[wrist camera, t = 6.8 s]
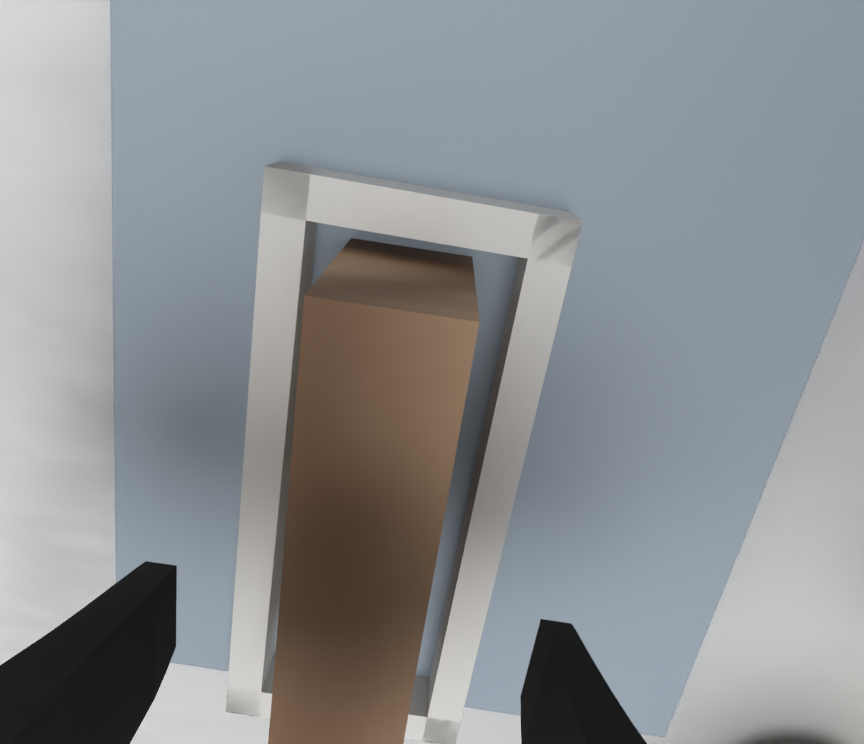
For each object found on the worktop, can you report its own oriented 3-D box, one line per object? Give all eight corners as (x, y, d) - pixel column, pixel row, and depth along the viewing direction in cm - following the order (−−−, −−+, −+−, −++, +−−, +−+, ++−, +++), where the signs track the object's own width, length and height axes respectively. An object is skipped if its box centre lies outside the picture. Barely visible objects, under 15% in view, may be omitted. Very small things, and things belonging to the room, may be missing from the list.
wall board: (1128, -510, 12) (1289, -658, 10) (656, 711, 23) (678, 779, 21) (130, -719, 12) (49, -929, 9) (130, 631, 22) (93, 691, 20)
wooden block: (472, 256, 16) (479, 321, 11) (407, 636, 21) (391, 807, 16) (350, 237, 16) (302, 294, 11) (311, 622, 21) (263, 789, 16)
